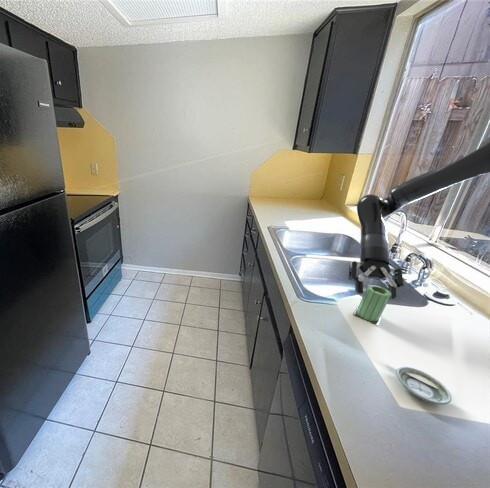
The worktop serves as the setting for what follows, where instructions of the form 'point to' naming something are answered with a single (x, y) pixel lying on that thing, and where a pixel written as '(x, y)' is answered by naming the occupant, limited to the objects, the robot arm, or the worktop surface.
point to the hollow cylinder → (373, 303)
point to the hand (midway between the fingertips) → (375, 296)
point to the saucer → (423, 386)
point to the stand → (368, 320)
